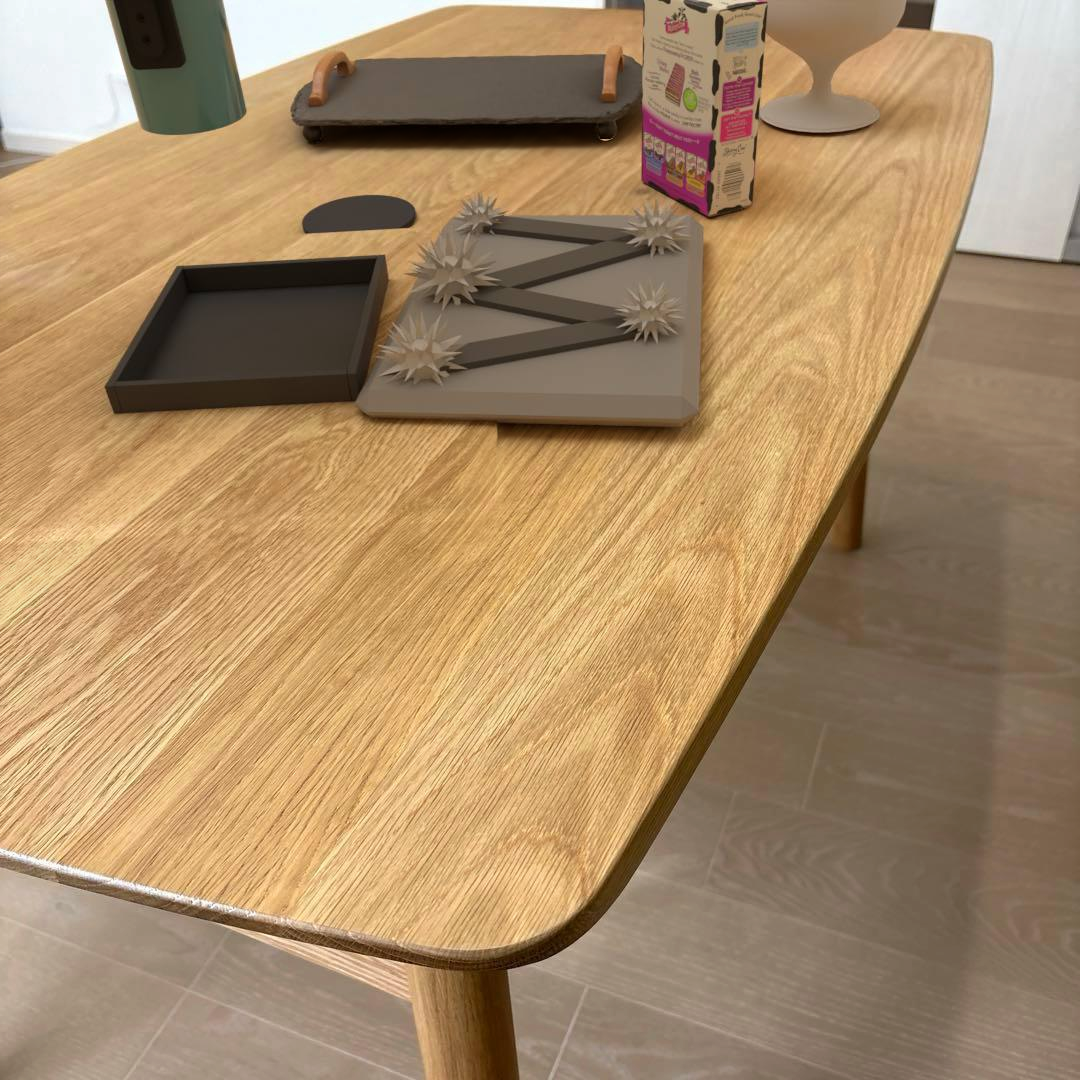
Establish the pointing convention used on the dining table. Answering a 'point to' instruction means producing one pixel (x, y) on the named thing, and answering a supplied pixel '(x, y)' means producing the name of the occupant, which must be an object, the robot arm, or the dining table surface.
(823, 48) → the chalice
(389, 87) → the serving tray
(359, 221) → the coaster
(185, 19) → the cup
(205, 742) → the dining table surface
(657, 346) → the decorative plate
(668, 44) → the candy bar box
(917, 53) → the dining table surface
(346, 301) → the tray
